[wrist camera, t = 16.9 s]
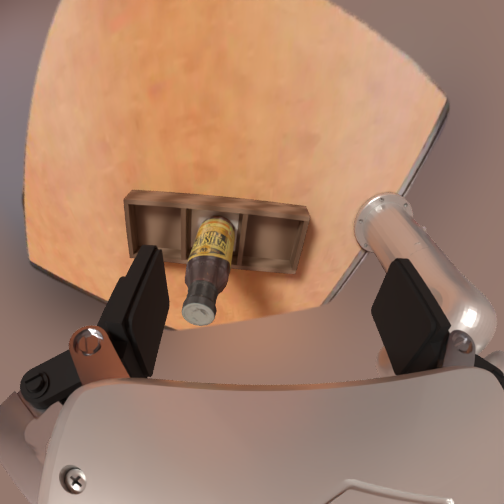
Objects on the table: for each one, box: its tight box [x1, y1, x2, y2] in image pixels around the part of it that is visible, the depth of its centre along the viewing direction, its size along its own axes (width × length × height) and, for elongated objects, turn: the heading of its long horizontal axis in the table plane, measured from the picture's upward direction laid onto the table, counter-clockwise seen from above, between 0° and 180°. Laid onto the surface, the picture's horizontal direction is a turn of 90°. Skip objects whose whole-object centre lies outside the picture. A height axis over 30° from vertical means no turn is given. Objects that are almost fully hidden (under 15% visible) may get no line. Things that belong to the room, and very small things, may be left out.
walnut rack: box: [124, 190, 310, 274], centre depth 48 cm, size 30×12×4 cm, turn 83°
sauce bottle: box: [182, 216, 235, 326], centre depth 41 cm, size 6×6×20 cm
